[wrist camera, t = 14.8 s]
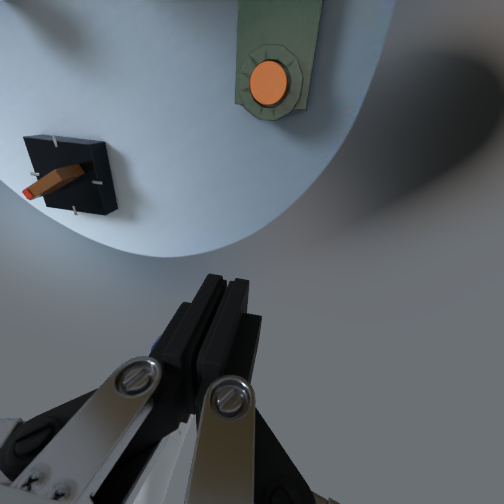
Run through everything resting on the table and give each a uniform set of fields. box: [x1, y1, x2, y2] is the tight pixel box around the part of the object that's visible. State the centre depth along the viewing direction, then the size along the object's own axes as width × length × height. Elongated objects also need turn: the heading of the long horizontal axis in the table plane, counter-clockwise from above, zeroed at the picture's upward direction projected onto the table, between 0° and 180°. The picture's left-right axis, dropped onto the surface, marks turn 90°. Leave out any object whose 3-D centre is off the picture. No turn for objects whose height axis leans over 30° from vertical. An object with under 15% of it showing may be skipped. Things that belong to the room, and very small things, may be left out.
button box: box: [235, 0, 323, 121], centre depth 25 cm, size 19×8×4 cm, turn 176°
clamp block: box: [23, 135, 118, 215], centre depth 38 cm, size 11×11×3 cm
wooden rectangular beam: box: [22, 164, 85, 200], centre depth 35 cm, size 7×1×4 cm, turn 116°
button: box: [250, 61, 288, 105], centre depth 26 cm, size 4×4×2 cm
